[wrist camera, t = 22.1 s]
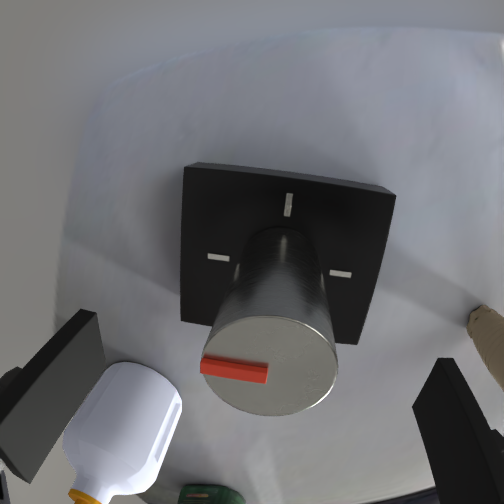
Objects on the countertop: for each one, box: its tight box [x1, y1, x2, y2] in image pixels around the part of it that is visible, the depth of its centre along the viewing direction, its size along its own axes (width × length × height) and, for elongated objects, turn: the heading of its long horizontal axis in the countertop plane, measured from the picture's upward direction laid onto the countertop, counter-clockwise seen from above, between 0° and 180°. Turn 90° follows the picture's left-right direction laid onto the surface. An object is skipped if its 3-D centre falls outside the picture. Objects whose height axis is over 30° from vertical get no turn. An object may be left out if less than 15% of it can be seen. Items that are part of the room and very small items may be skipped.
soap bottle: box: [63, 362, 182, 504], centre depth 19 cm, size 9×9×25 cm
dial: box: [200, 227, 338, 416], centre depth 16 cm, size 5×5×10 cm
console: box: [180, 162, 396, 345], centre depth 22 cm, size 13×11×3 cm
